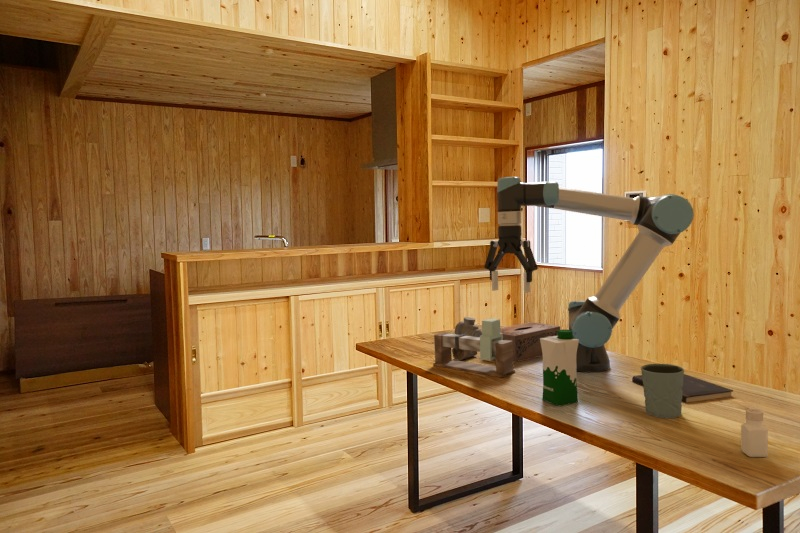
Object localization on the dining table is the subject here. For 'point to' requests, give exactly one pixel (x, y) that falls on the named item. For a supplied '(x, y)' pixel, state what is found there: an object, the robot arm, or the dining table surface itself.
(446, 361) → the rail
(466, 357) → the pipe
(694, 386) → the hardcover book
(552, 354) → the milk carton
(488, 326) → the pale green slider block
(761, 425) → the salt shaker
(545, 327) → the tissue box cover
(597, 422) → the dining table surface
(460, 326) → the pipe fitting
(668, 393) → the grey green cup
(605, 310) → the robot arm
